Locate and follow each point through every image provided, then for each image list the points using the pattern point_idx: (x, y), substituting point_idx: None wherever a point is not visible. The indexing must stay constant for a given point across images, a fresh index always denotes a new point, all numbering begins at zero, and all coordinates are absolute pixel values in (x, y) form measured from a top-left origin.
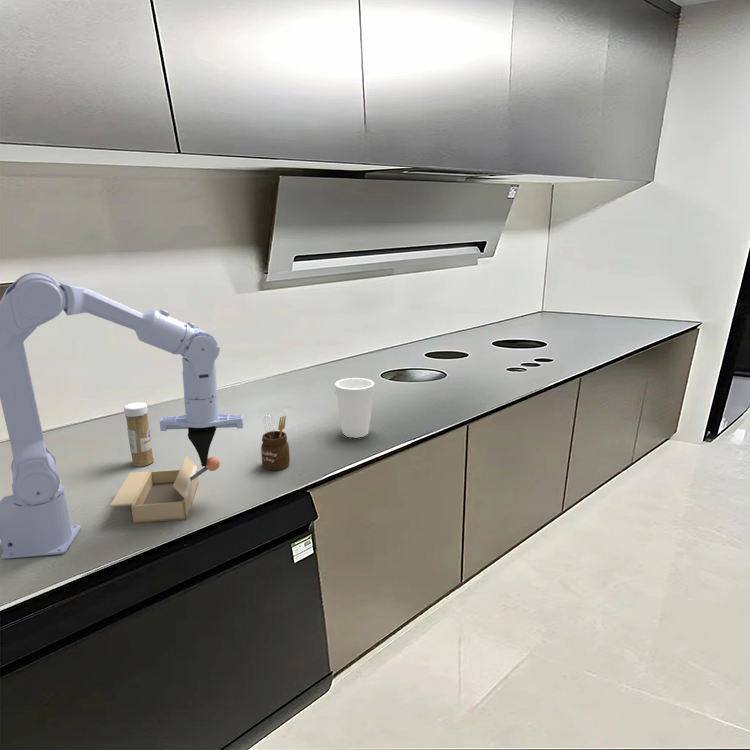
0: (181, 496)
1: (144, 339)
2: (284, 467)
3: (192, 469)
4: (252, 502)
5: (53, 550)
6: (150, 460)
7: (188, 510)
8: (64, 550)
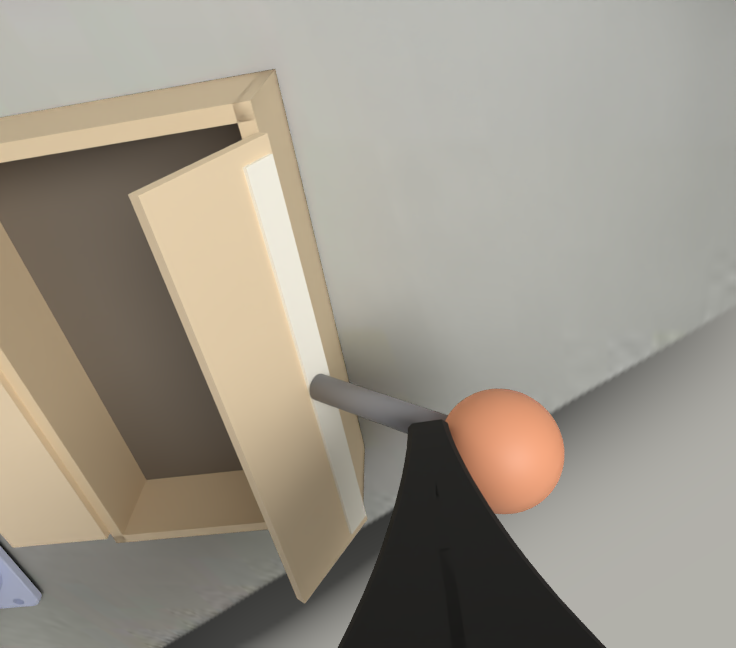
0: None
1: None
2: None
3: (268, 260)
4: (678, 319)
5: (2, 601)
6: None
7: (354, 414)
8: (37, 602)
